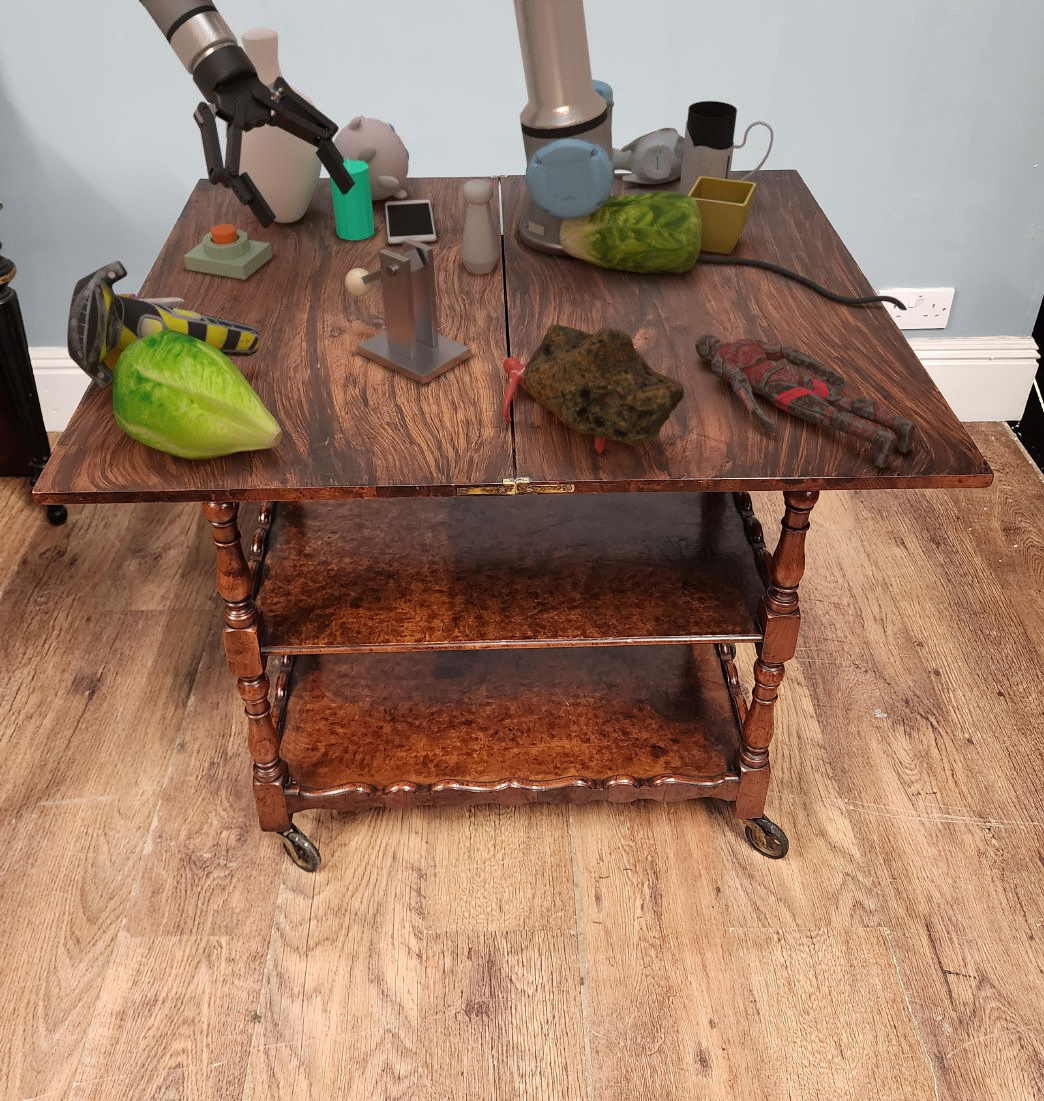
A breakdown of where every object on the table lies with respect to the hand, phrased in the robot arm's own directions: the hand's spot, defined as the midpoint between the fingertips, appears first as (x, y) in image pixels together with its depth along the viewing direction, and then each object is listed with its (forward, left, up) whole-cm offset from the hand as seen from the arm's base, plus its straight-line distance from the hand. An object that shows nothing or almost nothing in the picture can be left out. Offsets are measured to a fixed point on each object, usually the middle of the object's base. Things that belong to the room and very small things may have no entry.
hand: (311, 206), depth 140 cm
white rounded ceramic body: (-32, -56, -11) cm, 65 cm away
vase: (+20, -26, -16) cm, 36 cm away
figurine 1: (-47, +16, -14) cm, 52 cm away
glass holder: (-44, -54, -16) cm, 71 cm away
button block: (+21, -9, -16) cm, 28 cm away
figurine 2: (-78, +9, -13) cm, 80 cm away
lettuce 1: (-1, +29, -15) cm, 33 cm away
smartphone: (+1, -31, -16) cm, 34 cm away
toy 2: (+9, +16, -12) cm, 22 cm away
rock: (-52, +21, -6) cm, 57 cm away
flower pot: (-46, -39, -16) cm, 63 cm away
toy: (+7, -31, -9) cm, 33 cm away
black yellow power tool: (0, +29, -4) cm, 29 cm away
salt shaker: (-15, -20, -16) cm, 30 cm away
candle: (+8, -25, -16) cm, 31 cm away
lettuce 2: (-36, -28, -16) cm, 48 cm away
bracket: (-16, +6, -16) cm, 23 cm away
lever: (-12, +4, -7) cm, 15 cm away
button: (+21, -9, -12) cm, 26 cm away
